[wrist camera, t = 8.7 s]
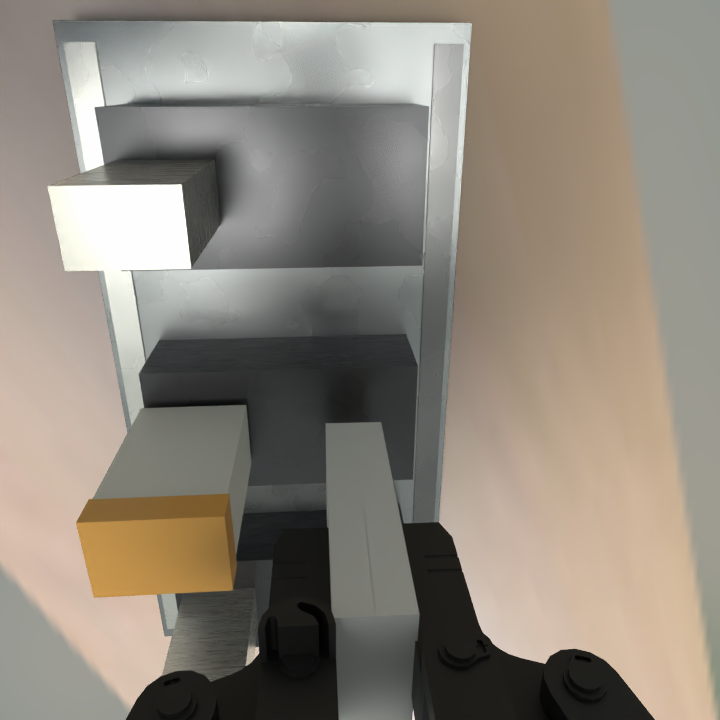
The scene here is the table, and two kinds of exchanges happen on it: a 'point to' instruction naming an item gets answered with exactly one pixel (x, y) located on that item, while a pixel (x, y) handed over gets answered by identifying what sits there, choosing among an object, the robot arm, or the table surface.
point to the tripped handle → (170, 504)
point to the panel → (272, 255)
